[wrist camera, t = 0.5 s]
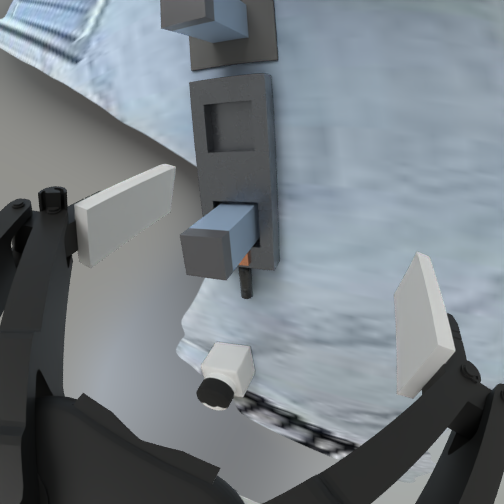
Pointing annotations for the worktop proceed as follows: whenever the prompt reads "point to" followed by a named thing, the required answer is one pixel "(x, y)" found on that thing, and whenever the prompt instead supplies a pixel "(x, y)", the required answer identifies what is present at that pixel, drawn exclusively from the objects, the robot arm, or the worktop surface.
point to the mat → (240, 41)
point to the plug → (206, 19)
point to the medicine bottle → (225, 375)
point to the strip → (239, 157)
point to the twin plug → (220, 240)
